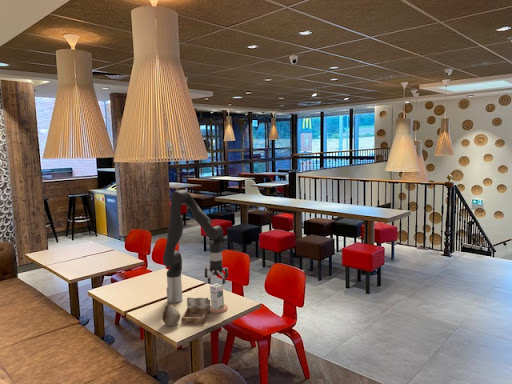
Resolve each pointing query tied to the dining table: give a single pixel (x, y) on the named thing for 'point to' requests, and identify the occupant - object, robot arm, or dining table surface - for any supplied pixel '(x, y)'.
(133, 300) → the dining table surface
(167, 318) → the fruit
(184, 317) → the frame
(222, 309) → the saucer
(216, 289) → the syrup box
